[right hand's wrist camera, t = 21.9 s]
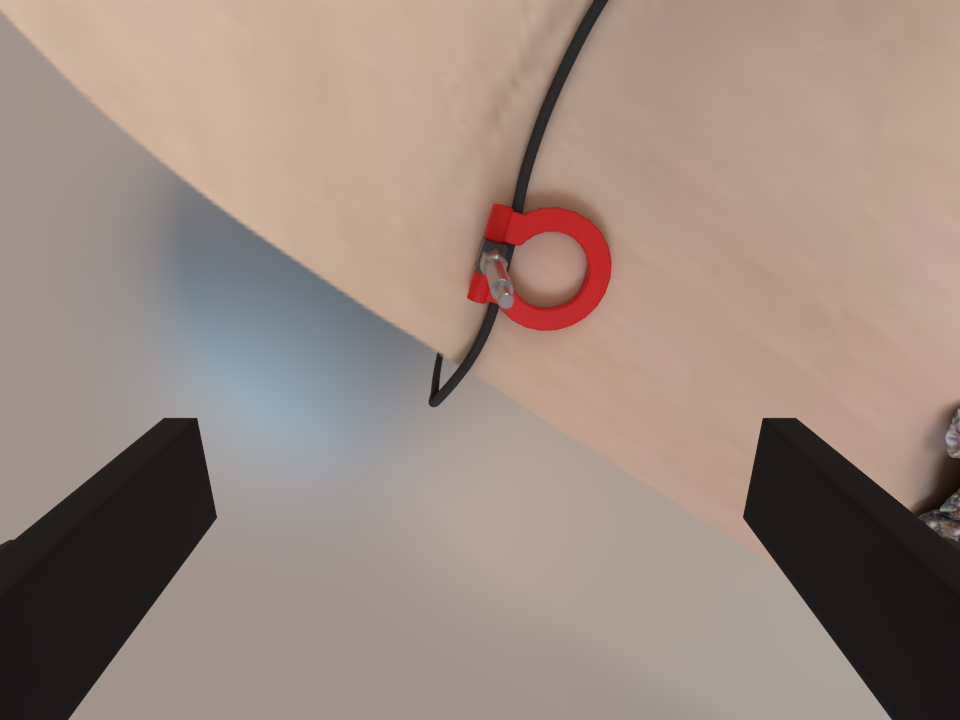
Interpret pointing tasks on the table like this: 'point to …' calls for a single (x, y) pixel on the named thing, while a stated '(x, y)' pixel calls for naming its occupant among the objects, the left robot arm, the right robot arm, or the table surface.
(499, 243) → the tow hook
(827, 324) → the table surface
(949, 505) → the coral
